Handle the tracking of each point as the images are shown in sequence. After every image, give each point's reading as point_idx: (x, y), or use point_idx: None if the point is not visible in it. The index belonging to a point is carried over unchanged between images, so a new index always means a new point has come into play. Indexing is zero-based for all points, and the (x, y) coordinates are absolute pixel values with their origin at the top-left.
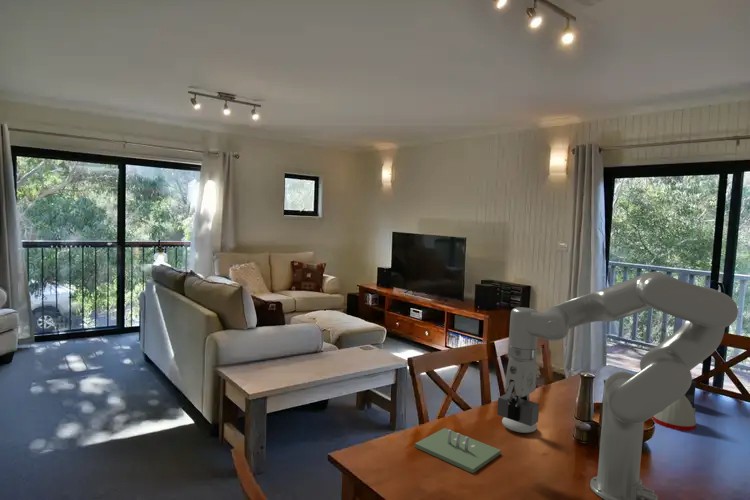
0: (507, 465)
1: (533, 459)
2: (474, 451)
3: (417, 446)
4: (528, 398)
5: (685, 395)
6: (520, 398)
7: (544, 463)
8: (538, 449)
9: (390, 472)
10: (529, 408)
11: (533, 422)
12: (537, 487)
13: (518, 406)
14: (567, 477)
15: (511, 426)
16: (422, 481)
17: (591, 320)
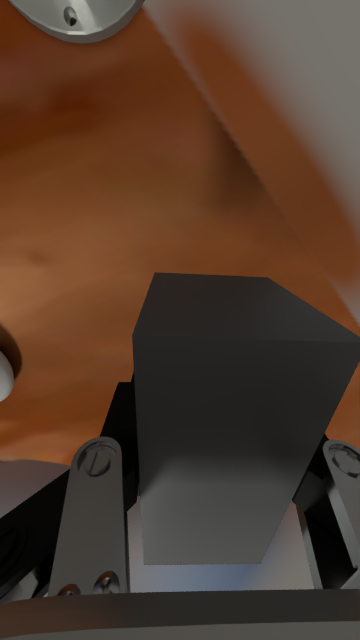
0: None
1: (97, 269)
2: None
3: None
4: (90, 466)
5: None
6: (149, 498)
7: (92, 237)
8: (30, 281)
9: (347, 431)
10: (341, 366)
11: (239, 280)
12: (236, 201)
13: (324, 444)
14: (113, 143)
15: (6, 376)
16: (350, 389)
17: None
